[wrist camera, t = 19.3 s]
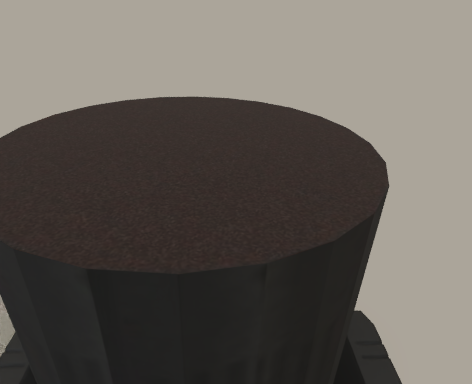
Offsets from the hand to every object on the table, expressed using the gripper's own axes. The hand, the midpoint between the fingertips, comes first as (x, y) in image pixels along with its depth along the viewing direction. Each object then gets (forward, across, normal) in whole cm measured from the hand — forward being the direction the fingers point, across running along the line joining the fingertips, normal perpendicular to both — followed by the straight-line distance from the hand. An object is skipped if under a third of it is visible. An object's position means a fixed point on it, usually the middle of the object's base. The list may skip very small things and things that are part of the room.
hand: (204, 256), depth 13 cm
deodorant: (-5, 0, -9) cm, 10 cm away
